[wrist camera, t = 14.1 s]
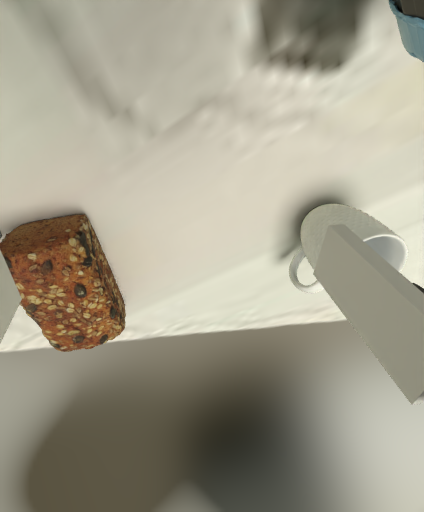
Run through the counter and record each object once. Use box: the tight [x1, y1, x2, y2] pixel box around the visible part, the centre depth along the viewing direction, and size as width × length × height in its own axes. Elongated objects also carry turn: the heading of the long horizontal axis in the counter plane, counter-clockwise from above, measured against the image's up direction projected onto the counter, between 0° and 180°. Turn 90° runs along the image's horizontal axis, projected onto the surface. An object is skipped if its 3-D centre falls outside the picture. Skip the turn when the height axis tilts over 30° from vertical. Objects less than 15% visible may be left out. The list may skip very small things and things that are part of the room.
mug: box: [289, 204, 408, 293], centre depth 44 cm, size 15×11×13 cm
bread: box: [0, 214, 126, 352], centre depth 41 cm, size 19×11×10 cm, turn 6°
